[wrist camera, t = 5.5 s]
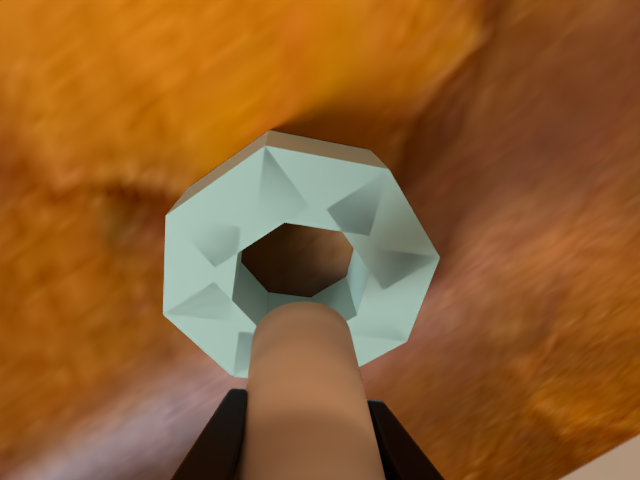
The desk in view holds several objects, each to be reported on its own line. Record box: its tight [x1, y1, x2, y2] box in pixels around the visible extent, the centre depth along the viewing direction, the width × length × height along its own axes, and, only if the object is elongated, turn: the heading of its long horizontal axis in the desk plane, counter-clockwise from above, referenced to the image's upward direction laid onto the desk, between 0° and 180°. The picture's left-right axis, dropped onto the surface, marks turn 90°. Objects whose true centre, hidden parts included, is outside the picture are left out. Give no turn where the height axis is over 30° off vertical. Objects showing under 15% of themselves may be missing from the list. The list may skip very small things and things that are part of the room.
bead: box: [163, 130, 440, 378], centre depth 15 cm, size 10×10×3 cm
